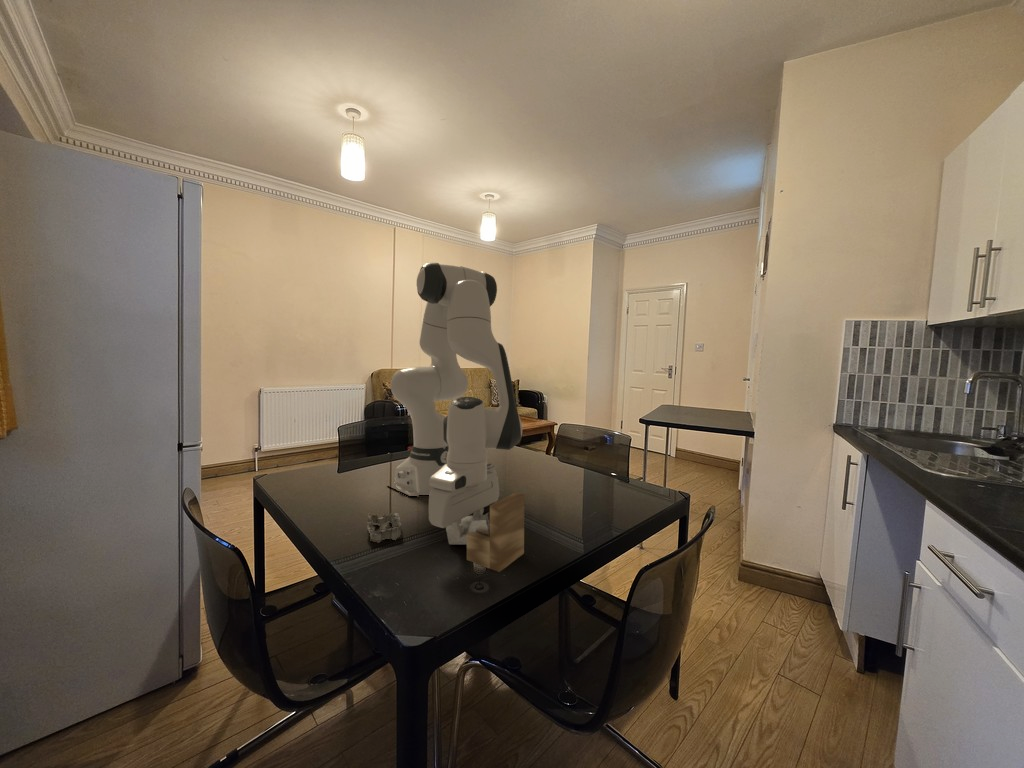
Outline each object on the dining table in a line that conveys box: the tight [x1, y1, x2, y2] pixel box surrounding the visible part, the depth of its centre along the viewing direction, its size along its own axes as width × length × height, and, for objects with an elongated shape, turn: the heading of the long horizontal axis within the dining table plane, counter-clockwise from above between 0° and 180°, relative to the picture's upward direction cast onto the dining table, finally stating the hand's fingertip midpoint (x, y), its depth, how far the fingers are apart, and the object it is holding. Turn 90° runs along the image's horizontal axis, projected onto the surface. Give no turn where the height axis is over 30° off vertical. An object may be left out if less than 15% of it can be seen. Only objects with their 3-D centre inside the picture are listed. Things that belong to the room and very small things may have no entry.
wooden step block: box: [466, 492, 525, 573], centre depth 84 cm, size 8×9×13 cm
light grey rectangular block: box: [445, 512, 490, 546], centre depth 88 cm, size 14×4×6 cm, turn 51°
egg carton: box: [367, 512, 402, 540], centre depth 95 cm, size 11×8×4 cm
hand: (467, 532), depth 89 cm, fingers open, 4 cm apart
